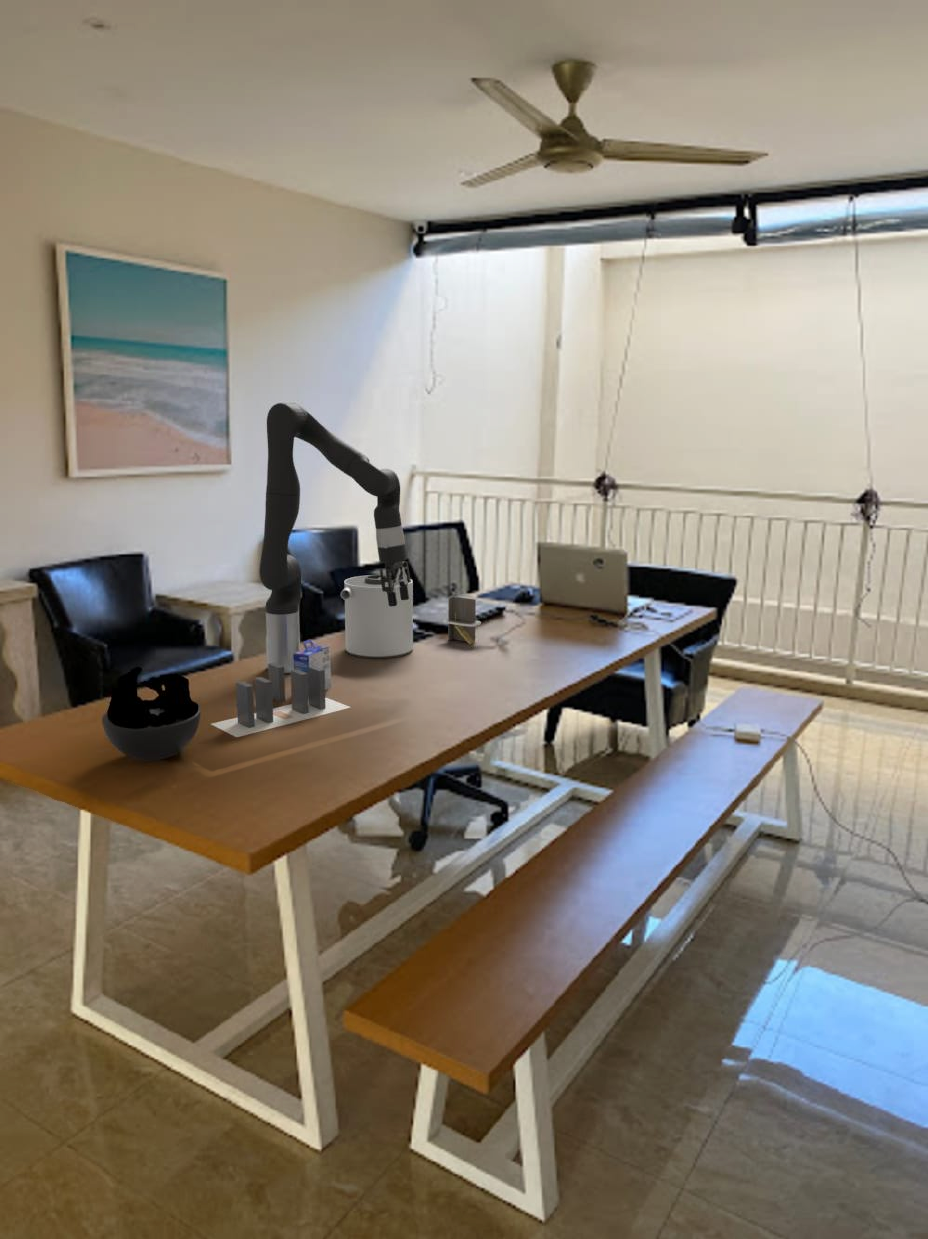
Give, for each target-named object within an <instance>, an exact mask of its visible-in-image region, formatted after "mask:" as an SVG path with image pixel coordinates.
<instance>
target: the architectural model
mask: <svg viewBox="0 0 928 1239" xmlns="http://www.w3.org/2000/svg"><path fill="white" fill-rule="evenodd" d="M476 601H477V599H476V598H467V597H460V596H450V597H449V596H448V610H447V613H448V617H447V618H444V619H443V623H444V624H448V626H447V627H448V629H447V630H448V631H447V632H448V633H447V634H448V635H447V638H448V639H447V640H448V641H452V640H456V641H461V642H467V644H468V645H472V644H475V643H476V627H477V626H480V625H481V624H482V622H481V621H480V620H476V610H477V609H476V608H477V606H476V605H477V602H476Z"/></svg>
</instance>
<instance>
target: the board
mask: <svg viewBox="0 0 928 1239" xmlns="http://www.w3.org/2000/svg"><path fill="white" fill-rule="evenodd" d="M325 705H326V708H325V709H321V710H320V709H317V708H315V707H312V706H310V705H309V699H308V706H309V713H306V714H302V713H299V712H297V711H295V710H292V703H291V704H287V705H283V706H278V707H273V722H271V723H266V722H264V721H261V720H259V719H257V718H256V712H254V719H255V727H251V728H248V727H245V726H243V725H241V724H239V723H238V716H236V717H233V718H229V719H224V720H221V721H217V722H213V723H210V725H211V726H213V727H215V728H217V729H219V730H221V731H223V732H225V733H227V734H229V735H231V736H233V737H235V738H239V737H244V736H247V735H251V734H255V733H259V732H263V731H266V730H270V729H274V728H277V727H278V728H279V727H282V726H285V725H289V724H293V723H294V724H295V723H298V722H301V721H305V720H308V719H309V720H310V719H313V718H316V717H320V716H324V715H327V714H333V713H335V712H339V711H343V710H346V709H351V706H348V705H346V704H343V703H341V702H340V701H339V702H338V701H336V700H333V699H330V698H328V697H326V696H325Z"/></svg>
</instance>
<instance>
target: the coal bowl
mask: <svg viewBox="0 0 928 1239" xmlns="http://www.w3.org/2000/svg"><path fill="white" fill-rule="evenodd" d="M142 671H143V668H142V667H141V666H136V667H134V668H132V669H130V670H129V671H128V672H126V673H125V674H123V675H121V676H119V677H118V678H117V680H116V683H117V685H116V686H115V687H114V688H113V690H112V692H111V694H110V701H109V703H108V708H107V711H106V712H105V713H104V714H103V715H102V717H101V724H102V728H103V731H104V734H105V735H106V737H107V739H108V740H109V742H110V743H111V744H112V746H114V748H115V749H117V750H118V751H119V752H121V753H122V754H124V755H125V756H127V757H129V758H132V759H134V760H140V761H144V760H145V762H146V761H147V762H151V761H152V762H153V761H154V760H155V761H160V760H164V759H167V758H170V757H172V756H174V755H175V754H178V753H180V752H181V751H183V749H184V748H186V747H187V746H188V744H190V742H191V740H193V739H194V736H195V735H196V733H197V730H198V727H199V725H200V721H201V714H202V713H201V712H202V710H201V707H200V706H199V704H198V702H197V701H193V699H192V698H191V692H190V682H189V681H190V680H189V678H187V677H185V676H183V675H180V674H179V673H174V674H173V673H167V674H161V675H159V677H154V676H152V677H149V679H148V680H143V681H140V682H139V685H141V686H143V687H145V688H148V689H149V690H153V691H155V692H156V693H157V695H158V696H156V697H155V698H153V699H142V697H140V696H139V695H138V682H137V681H138V677H139V676H140V674H142ZM163 686H164V690H163Z"/></svg>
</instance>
